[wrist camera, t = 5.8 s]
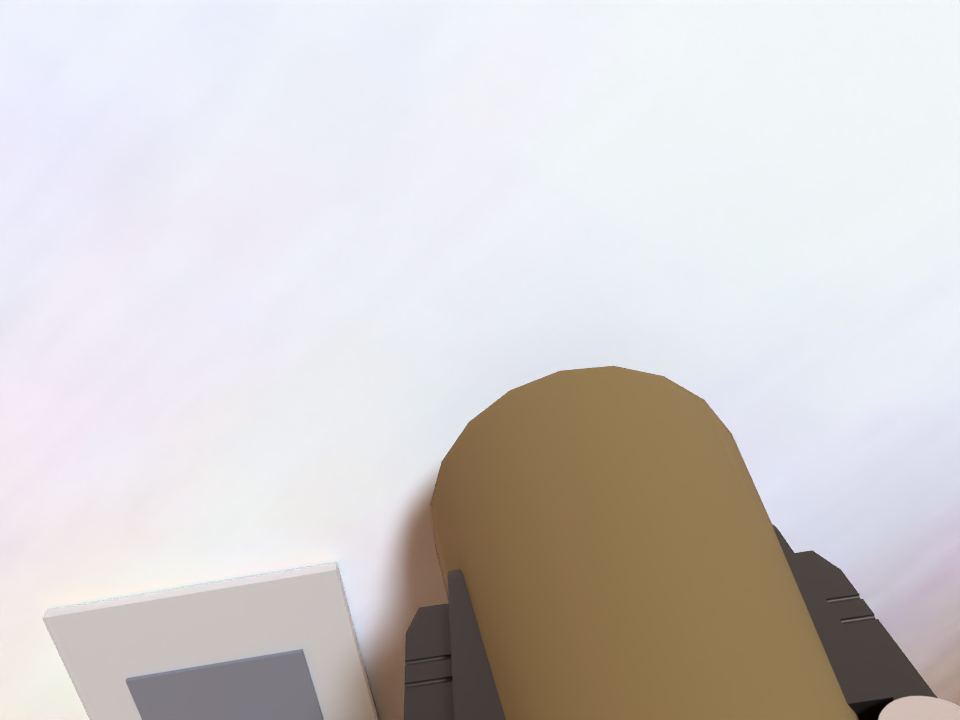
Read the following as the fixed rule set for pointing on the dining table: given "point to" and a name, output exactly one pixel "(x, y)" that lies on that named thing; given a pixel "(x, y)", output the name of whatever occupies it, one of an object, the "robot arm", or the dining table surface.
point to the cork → (625, 559)
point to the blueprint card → (219, 651)
